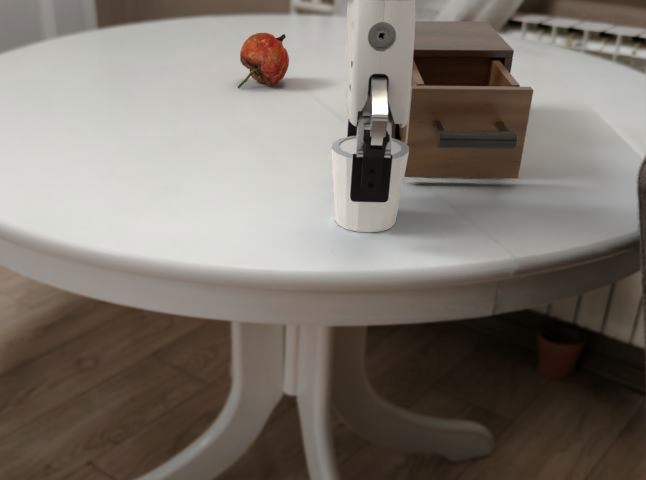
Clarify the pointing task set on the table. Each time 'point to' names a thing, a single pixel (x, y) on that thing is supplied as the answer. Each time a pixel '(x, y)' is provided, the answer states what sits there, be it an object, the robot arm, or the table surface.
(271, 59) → the pomegranate
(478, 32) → the cabinet
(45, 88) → the table surface
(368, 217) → the white cup
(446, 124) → the drawer
